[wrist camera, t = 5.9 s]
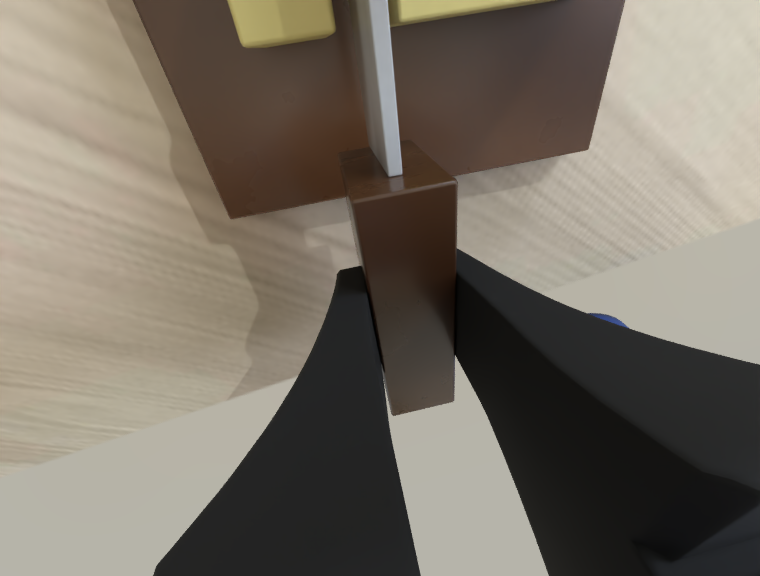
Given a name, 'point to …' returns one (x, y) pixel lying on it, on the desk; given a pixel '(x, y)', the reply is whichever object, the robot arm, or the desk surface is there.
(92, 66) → the desk surface
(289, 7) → the butter pat
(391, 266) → the knife
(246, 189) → the butter board
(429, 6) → the butter
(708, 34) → the desk surface
